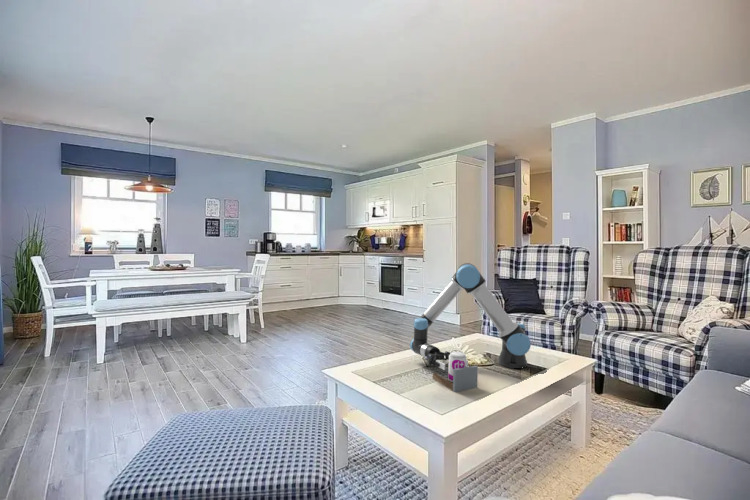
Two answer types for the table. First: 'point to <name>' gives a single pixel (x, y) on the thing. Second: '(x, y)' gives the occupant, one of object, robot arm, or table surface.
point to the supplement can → (456, 363)
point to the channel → (443, 381)
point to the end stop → (465, 378)
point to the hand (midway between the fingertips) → (456, 365)
